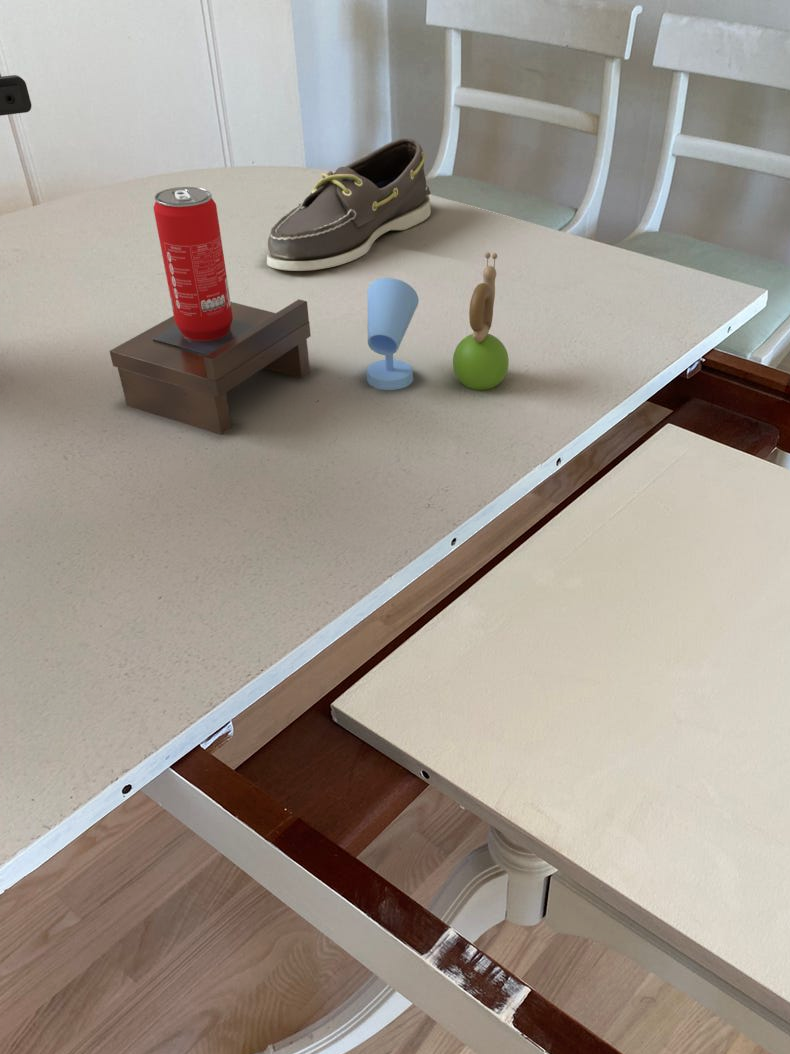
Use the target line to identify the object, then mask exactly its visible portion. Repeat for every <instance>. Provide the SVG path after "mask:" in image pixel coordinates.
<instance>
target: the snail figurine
mask: <svg viewBox="0 0 790 1054" xmlns="http://www.w3.org/2000/svg"><path fill="white" fill-rule="evenodd" d="M484 257H485V259H486V267H485V268H484V269H483V271H482V278H483V282H481V283H479V284H477V285H476V286H475V288H474V290H473V292H472V295H471V298H470V301H469V309H468V311H469V312H468V315H469V316H468V317H469V318H468V319H469V326H470V328H471V330H472V331H473V333H471V334H469V335H466V336H465V337H463V339H461V340H460V342H459V343H458V344H457V345H456V347H455V349H454V352H453V354H452V355H453V356H452V368H453V371H454V374H455V376H456V378H457V380H458V381H459V382H460V383H461V384H462V385H463V386H465V387H466V388H468V389H471V390H475V391H485V390H486V391H487V390H491V389H494V388H495V387H497V386H498V385H499V384H500V383H502V381H503V380H504V379H505V377H506V375H507V373H508V370H509V362H510V360H509V354H508V351H507V348H506V346H505V345H504V344H503V342H502V341H501V340H500V339H499V338H498V337H497V336H495V335H493V334H492V333H491V334H490V333H489V332H490V329H491V328H492V323H493V318H494V306H495V305H494V304H495V299H496V298H495V297H496V278H497V270H496V267H495V266H496V259H497V258H498V254H497V253H496V252H493V253H490V252H489V251H486V252H485V253H484ZM490 258H492V260H493V265H489V259H490Z"/></svg>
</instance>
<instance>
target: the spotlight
mask: <svg viewBox="0 0 790 1054" xmlns="http://www.w3.org/2000/svg"><path fill="white" fill-rule="evenodd" d="M366 292H367V295H366V296H367V297H366V298H367V299H366V300H367V345H368V347H369V349H370V350H371V351H373V353H376V354H378V355H382V356H384V359H383V360H382V359H381V360H377V361H374V362H373V363H371V364H369V365H368V367H366V380H367V383H368V384H369V385H370V386H371V387H372V388H375V389H379V390H382V391H383V390H384V391H395V390H401V389H404V388H406V387H409V386H410V385H411V384H412V383H413V382H414V376H413V375H414V371H413V366H411V365H410V364H409V363H408V362H406V361H403V360H399V359H394V354H396V353H397V352H398V350H399V348H400V346H401V344H402V341H403V340H404V337H405V335H406V333H407V330H408V328H409V325H410V323H411V321H412V319H413V317H414V314H415V312H416V310H417V308H418V306H419V296H418V293H417V291H416V290H415V289H414V288H413V286H411V285H410V284H409V283H407V282H405V281H403V280H402V279H398V278H394V277H381V278H377V279H376V280H373V281H372V282H371V283H370V284H369V285H368V288H367V291H366Z"/></svg>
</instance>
